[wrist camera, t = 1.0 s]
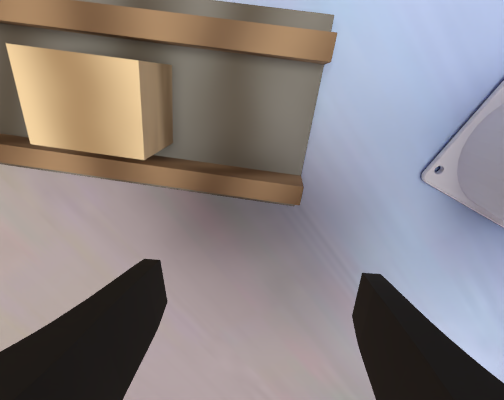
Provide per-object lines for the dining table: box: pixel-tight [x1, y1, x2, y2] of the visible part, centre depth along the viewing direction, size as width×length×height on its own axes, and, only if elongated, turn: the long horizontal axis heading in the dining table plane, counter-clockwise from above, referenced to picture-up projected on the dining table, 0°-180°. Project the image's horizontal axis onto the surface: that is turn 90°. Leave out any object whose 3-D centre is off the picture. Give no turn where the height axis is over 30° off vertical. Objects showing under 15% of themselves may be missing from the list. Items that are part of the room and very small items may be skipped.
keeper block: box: [6, 43, 173, 160], centre depth 14 cm, size 6×4×4 cm
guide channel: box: [0, 0, 337, 206], centre depth 15 cm, size 22×11×2 cm, turn 83°
